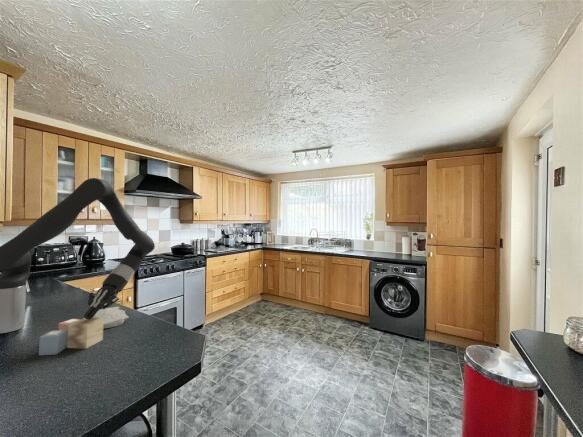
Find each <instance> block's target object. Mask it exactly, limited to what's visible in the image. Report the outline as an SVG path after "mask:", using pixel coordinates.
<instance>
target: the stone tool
mask: <svg viewBox="0 0 583 437" xmlns="http://www.w3.org/2000/svg"><path fill="white" fill-rule="evenodd" d="M93 318H104V322H103V330H104V329H109V328H114V327H120V326H121V325H123V323H124V322H126V320H127V319H129V316H128V315H127V314H126V311H125V310H123V309H120V306H113V307H107V308H106V309H101V310H98V312H97V313H96V314H95V315H94V317H93Z"/></svg>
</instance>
